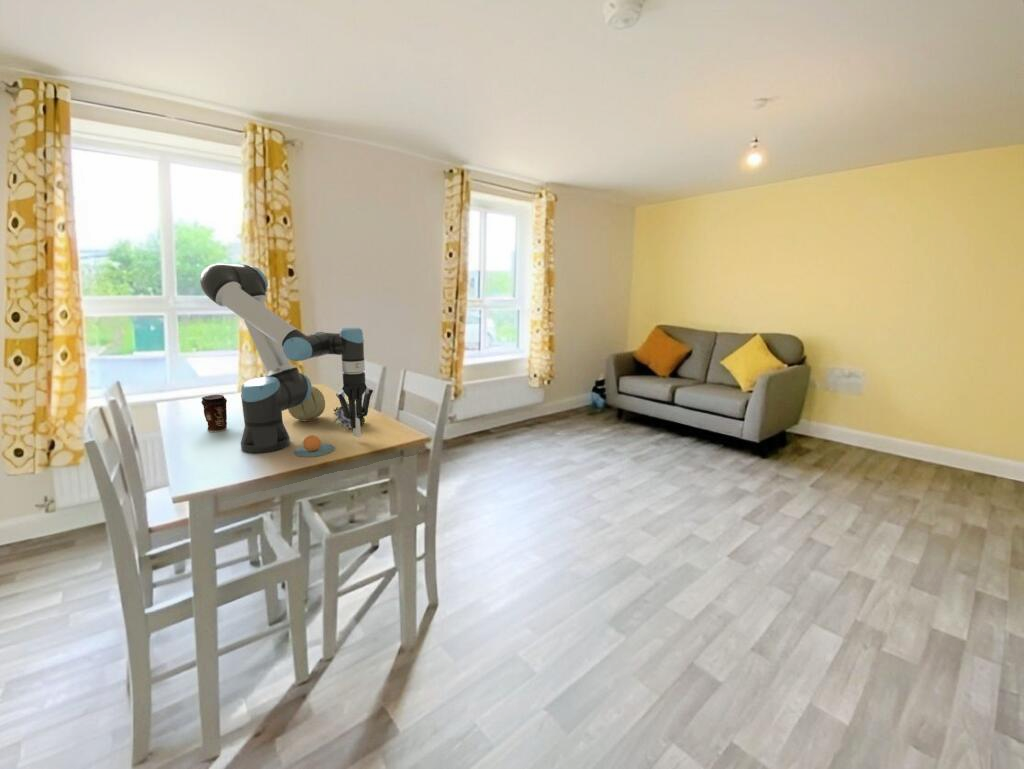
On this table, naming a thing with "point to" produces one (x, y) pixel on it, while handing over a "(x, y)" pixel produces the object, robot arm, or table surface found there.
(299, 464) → the table surface
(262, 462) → the table surface
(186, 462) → the table surface
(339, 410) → the passion flower
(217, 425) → the coffee cup
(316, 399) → the cantaloupe
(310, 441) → the ball
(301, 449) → the mark
